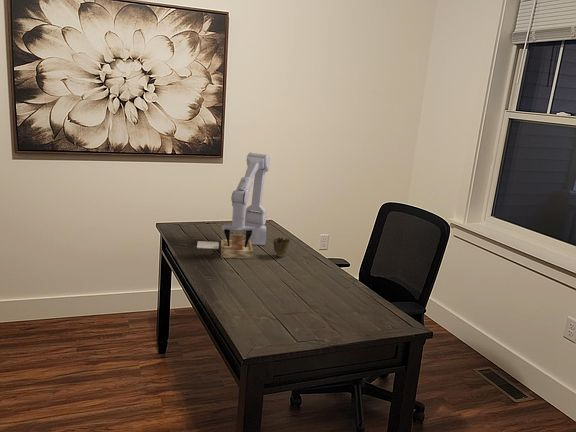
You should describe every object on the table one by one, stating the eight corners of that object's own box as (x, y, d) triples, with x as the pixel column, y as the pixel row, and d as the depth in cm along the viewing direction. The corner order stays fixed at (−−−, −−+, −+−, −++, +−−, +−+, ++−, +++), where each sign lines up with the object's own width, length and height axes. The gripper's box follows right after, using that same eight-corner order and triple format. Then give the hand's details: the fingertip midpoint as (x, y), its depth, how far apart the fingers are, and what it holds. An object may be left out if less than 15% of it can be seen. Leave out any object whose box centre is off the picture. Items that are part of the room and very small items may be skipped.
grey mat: (218, 242, 254) (218, 242, 254) (218, 249, 244) (218, 248, 244) (197, 241, 252) (197, 241, 252) (196, 248, 243) (196, 247, 243)
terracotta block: (241, 247, 240) (242, 234, 239) (242, 250, 236) (242, 237, 234) (231, 246, 239) (232, 234, 238) (232, 249, 235) (232, 237, 234)
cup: (269, 256, 240) (270, 240, 238) (275, 252, 246) (277, 236, 244) (284, 259, 237) (286, 242, 235) (290, 255, 244) (292, 239, 242)
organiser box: (250, 247, 250) (250, 240, 249) (252, 258, 235) (253, 251, 234) (220, 246, 248) (221, 239, 247) (220, 257, 233) (221, 249, 232)
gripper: (222, 218, 229) (220, 248, 232) (255, 220, 231) (253, 249, 234) (222, 214, 236) (220, 243, 239) (254, 216, 238) (252, 244, 241)
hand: (237, 246), depth 237 cm, fingers open, 7 cm apart
